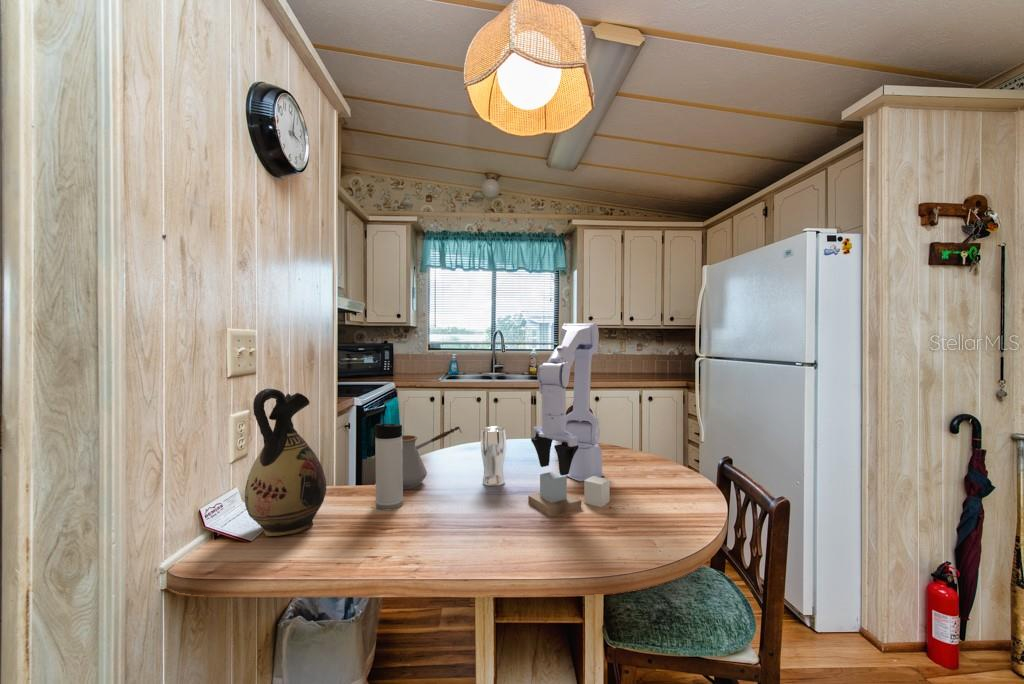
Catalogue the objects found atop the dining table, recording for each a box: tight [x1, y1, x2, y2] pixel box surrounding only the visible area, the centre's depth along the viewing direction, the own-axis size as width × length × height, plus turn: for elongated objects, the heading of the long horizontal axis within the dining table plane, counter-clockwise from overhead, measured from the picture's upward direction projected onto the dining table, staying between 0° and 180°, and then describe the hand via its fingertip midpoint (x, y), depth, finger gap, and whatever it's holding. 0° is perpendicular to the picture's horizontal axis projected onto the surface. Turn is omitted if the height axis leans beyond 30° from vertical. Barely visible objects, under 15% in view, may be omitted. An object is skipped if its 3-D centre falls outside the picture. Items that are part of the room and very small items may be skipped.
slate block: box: [539, 470, 568, 503], centre depth 103 cm, size 4×4×6 cm
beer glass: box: [480, 425, 507, 487], centre depth 119 cm, size 7×7×15 cm
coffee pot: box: [402, 426, 463, 490], centre depth 120 cm, size 21×12×15 cm, turn 107°
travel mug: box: [374, 423, 404, 511], centre depth 104 cm, size 6×7×20 cm
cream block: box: [583, 476, 611, 508], centre depth 105 cm, size 4×4×6 cm
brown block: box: [527, 492, 582, 517], centre depth 103 cm, size 9×9×2 cm
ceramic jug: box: [244, 388, 327, 537], centre depth 91 cm, size 17×15×30 cm
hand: (554, 470), depth 103 cm, fingers open, 7 cm apart
